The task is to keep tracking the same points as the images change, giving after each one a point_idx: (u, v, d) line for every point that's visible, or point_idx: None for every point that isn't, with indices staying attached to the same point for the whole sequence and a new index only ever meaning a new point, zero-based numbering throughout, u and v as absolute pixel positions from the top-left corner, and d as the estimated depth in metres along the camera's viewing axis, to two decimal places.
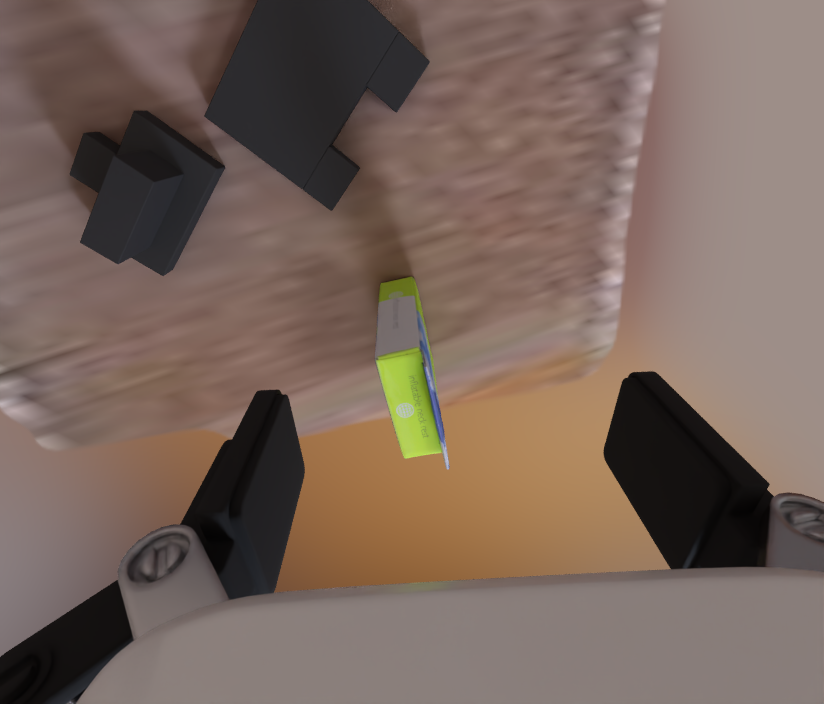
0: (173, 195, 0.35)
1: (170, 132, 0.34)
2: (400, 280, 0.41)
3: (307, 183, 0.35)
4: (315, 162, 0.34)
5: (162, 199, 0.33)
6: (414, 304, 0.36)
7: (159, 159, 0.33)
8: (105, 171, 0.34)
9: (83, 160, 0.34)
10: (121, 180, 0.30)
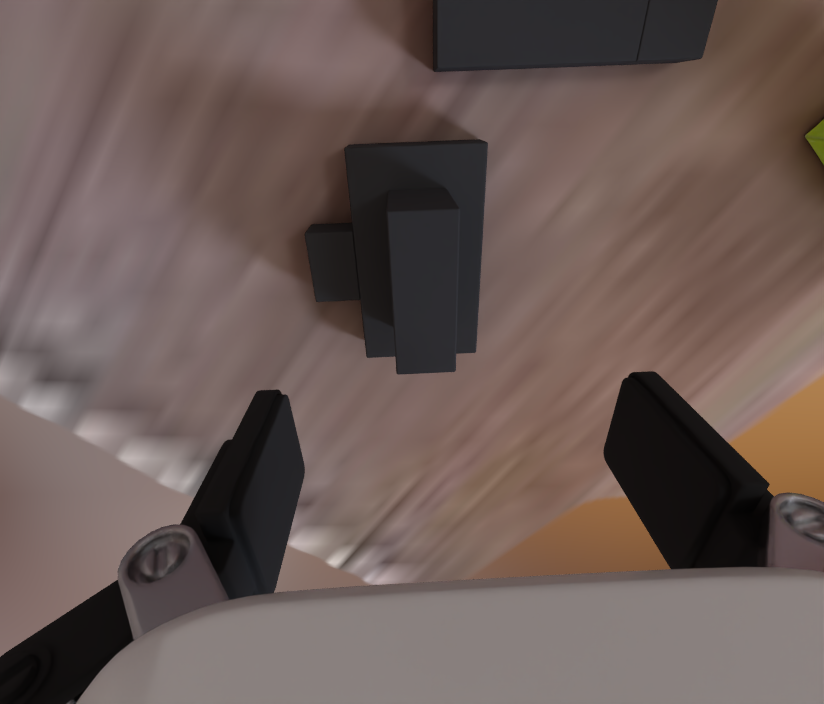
0: None
1: (397, 144, 0.20)
2: None
3: (642, 41, 0.18)
4: None
5: None
6: None
7: (410, 191, 0.20)
8: (351, 265, 0.23)
9: (322, 270, 0.23)
10: (413, 244, 0.17)
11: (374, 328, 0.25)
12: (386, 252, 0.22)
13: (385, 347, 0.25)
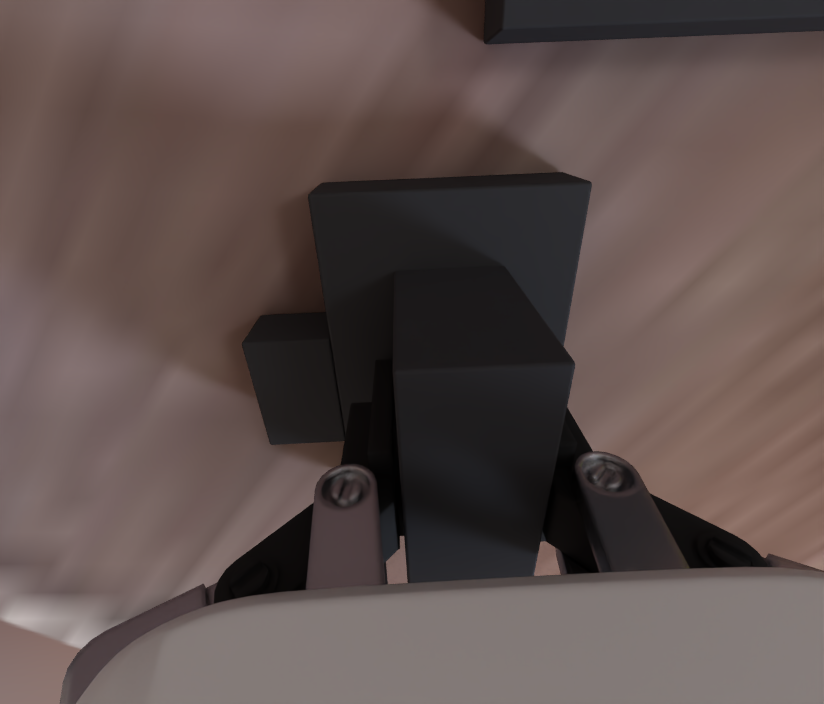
0: None
1: (413, 184, 0.10)
2: None
3: None
4: None
5: None
6: None
7: (437, 275, 0.10)
8: (329, 392, 0.13)
9: (277, 400, 0.13)
10: (455, 433, 0.07)
11: None
12: None
13: None
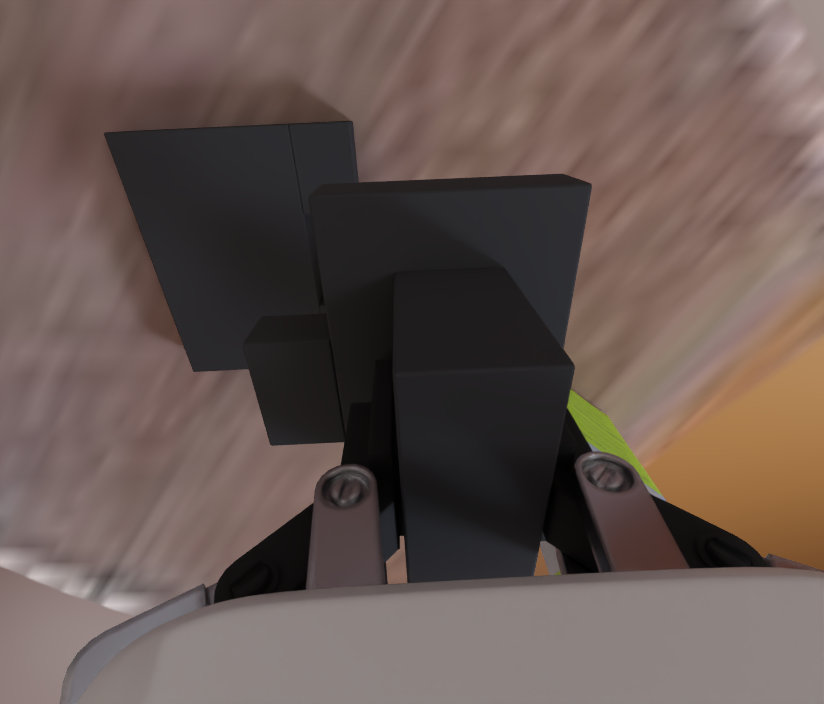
0: None
1: (413, 186, 0.10)
2: None
3: None
4: None
5: None
6: None
7: (438, 277, 0.10)
8: (329, 393, 0.13)
9: (277, 401, 0.13)
10: (455, 435, 0.07)
11: None
12: None
13: None
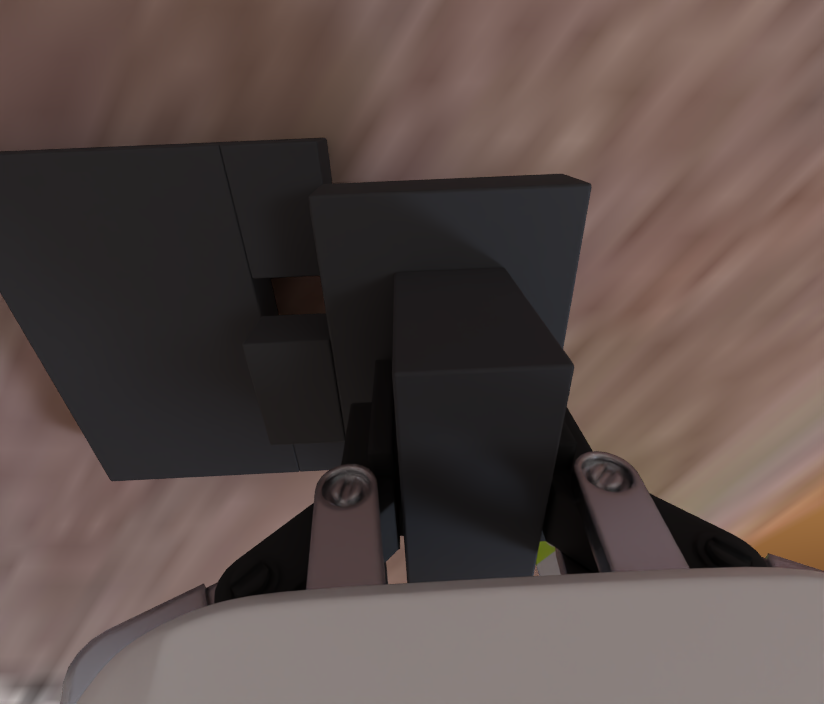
0: None
1: (413, 186, 0.10)
2: None
3: (299, 461, 0.19)
4: None
5: None
6: None
7: (437, 276, 0.10)
8: (329, 393, 0.13)
9: (277, 401, 0.13)
10: (455, 435, 0.07)
11: None
12: None
13: None
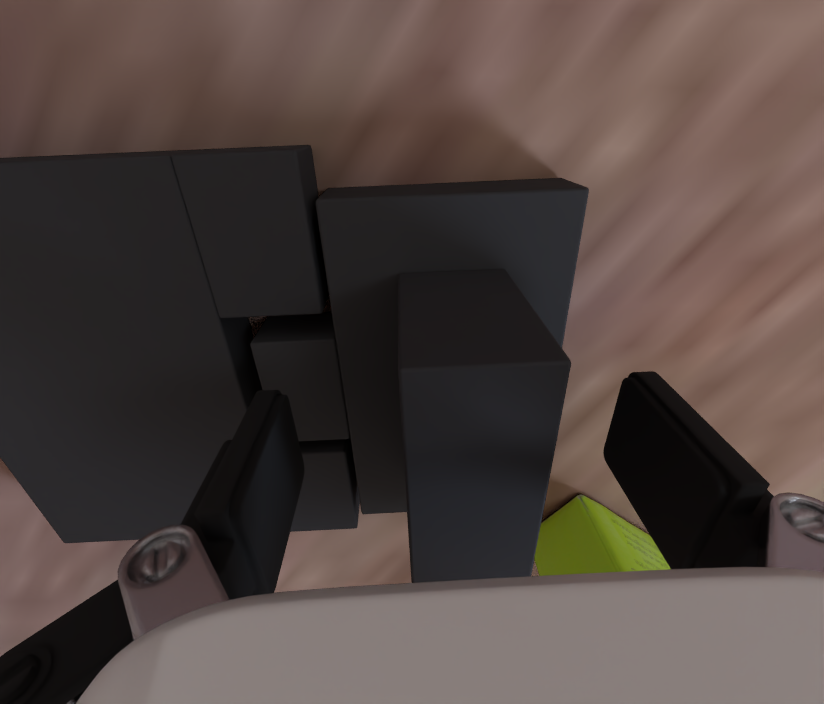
0: None
1: (416, 190, 0.11)
2: (562, 520, 0.19)
3: None
4: None
5: None
6: None
7: (440, 277, 0.11)
8: (334, 391, 0.13)
9: None
10: (457, 429, 0.08)
11: (373, 477, 0.15)
12: (394, 371, 0.13)
13: (391, 501, 0.16)
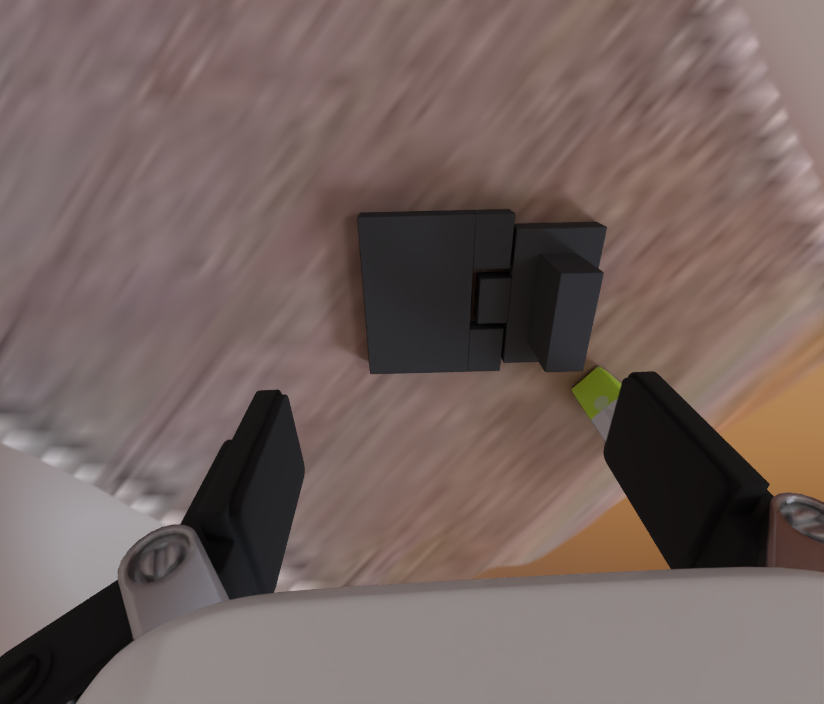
0: None
1: (548, 226, 0.32)
2: (589, 377, 0.39)
3: (468, 365, 0.37)
4: (466, 347, 0.36)
5: None
6: None
7: (556, 255, 0.32)
8: (506, 300, 0.34)
9: (486, 303, 0.34)
10: (572, 292, 0.28)
11: (512, 342, 0.36)
12: (531, 292, 0.34)
13: (517, 355, 0.37)
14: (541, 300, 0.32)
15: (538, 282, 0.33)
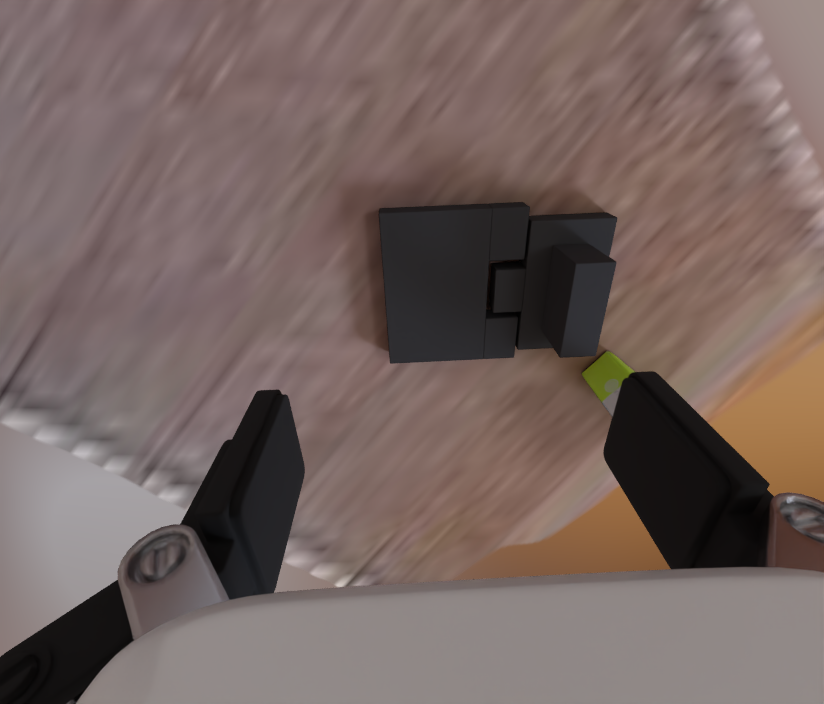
0: None
1: (560, 217, 0.33)
2: (599, 362, 0.41)
3: (484, 352, 0.39)
4: (482, 336, 0.38)
5: None
6: None
7: (568, 246, 0.33)
8: (521, 289, 0.36)
9: (501, 293, 0.36)
10: (586, 281, 0.30)
11: (526, 330, 0.38)
12: (544, 282, 0.35)
13: (531, 342, 0.38)
14: (555, 289, 0.34)
15: (552, 272, 0.34)
